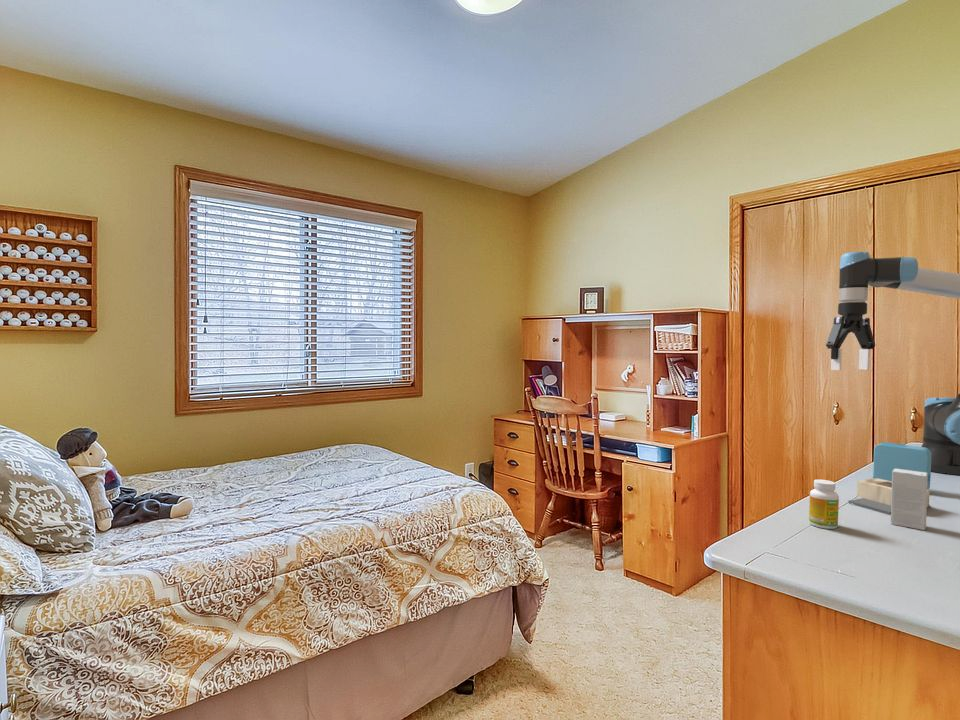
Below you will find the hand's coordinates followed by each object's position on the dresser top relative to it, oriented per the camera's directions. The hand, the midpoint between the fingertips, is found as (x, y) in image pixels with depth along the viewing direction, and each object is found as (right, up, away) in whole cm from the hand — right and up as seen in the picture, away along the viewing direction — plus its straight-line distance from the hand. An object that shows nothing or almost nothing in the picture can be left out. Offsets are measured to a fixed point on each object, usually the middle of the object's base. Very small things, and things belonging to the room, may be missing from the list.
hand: (850, 369), depth 170 cm
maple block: (-16, -30, -29) cm, 45 cm away
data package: (0, -33, -20) cm, 39 cm away
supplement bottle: (-41, -34, -51) cm, 74 cm away
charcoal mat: (-15, -33, -36) cm, 51 cm away
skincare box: (-22, -34, -50) cm, 64 cm away
